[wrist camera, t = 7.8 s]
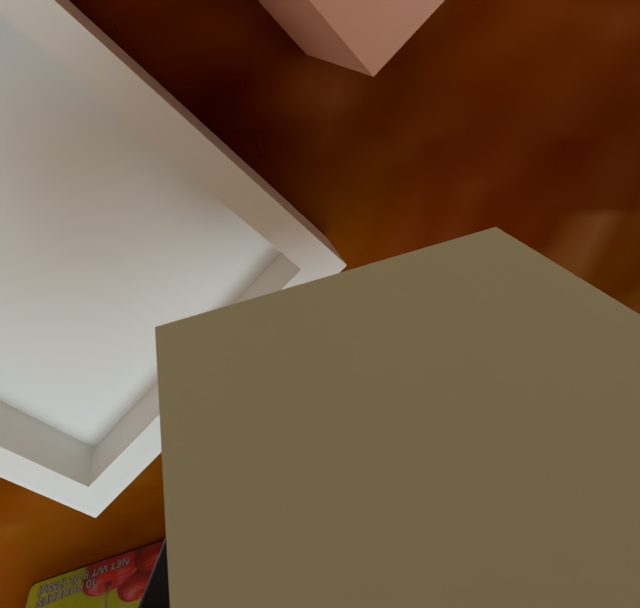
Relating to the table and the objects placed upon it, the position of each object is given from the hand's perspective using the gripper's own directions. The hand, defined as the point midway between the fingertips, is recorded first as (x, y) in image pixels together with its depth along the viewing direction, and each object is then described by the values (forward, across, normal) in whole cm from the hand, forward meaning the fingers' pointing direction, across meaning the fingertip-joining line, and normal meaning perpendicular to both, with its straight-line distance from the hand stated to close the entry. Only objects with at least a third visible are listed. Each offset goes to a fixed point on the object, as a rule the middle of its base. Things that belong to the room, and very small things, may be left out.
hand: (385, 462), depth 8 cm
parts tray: (+12, +6, 0) cm, 13 cm away
